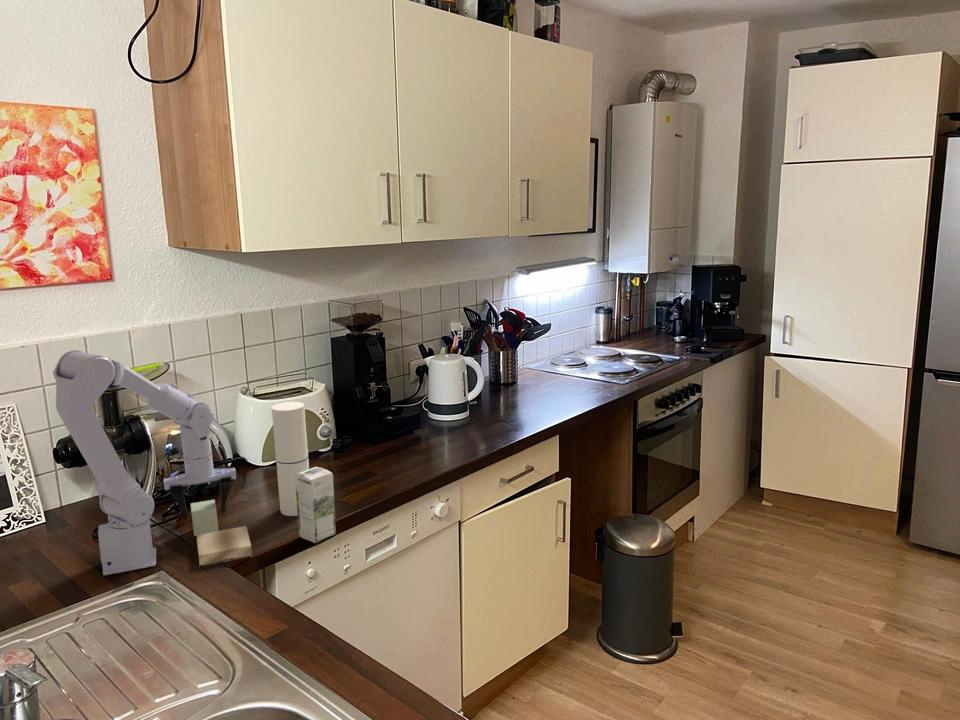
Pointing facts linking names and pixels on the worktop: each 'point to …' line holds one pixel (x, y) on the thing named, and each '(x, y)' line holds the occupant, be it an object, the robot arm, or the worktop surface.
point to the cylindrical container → (289, 451)
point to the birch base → (223, 545)
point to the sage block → (204, 517)
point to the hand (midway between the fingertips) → (204, 514)
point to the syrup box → (315, 504)
